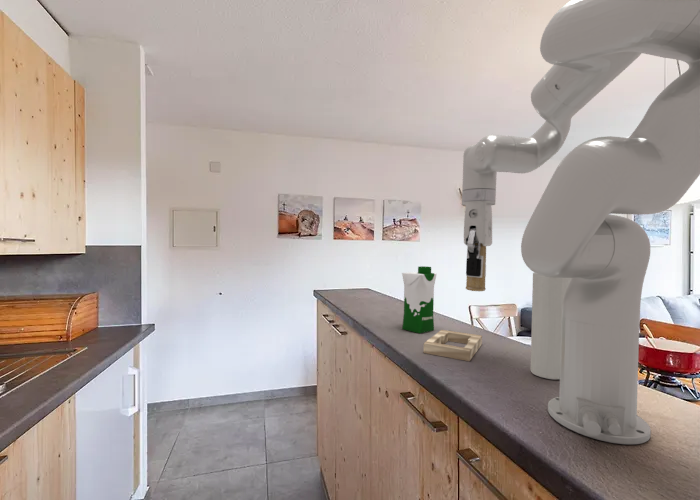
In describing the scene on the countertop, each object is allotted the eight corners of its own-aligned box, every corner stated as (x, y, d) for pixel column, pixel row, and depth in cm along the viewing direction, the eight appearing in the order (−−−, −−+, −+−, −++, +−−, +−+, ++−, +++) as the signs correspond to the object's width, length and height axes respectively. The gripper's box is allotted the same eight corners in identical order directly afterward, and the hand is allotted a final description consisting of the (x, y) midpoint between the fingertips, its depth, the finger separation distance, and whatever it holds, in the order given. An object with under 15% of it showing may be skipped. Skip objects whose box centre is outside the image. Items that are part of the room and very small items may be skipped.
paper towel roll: (529, 376, 69) (532, 272, 69) (531, 367, 75) (533, 270, 74) (571, 384, 66) (574, 274, 65) (570, 374, 71) (572, 272, 71)
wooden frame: (469, 361, 78) (469, 351, 78) (423, 352, 84) (423, 343, 84) (481, 344, 92) (482, 335, 92) (441, 338, 97) (441, 329, 97)
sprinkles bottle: (488, 290, 81) (490, 234, 81) (479, 292, 78) (481, 234, 78) (470, 288, 85) (472, 234, 84) (461, 289, 82) (463, 234, 81)
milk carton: (420, 334, 100) (421, 267, 100) (397, 328, 107) (398, 266, 107) (438, 330, 106) (439, 266, 106) (415, 324, 113) (416, 265, 113)
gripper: (488, 193, 71) (485, 279, 72) (500, 201, 86) (498, 273, 86) (453, 195, 75) (450, 276, 76) (470, 202, 90) (467, 271, 90)
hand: (475, 274), depth 81 cm, fingers closed on sprinkles bottle, 4 cm apart
